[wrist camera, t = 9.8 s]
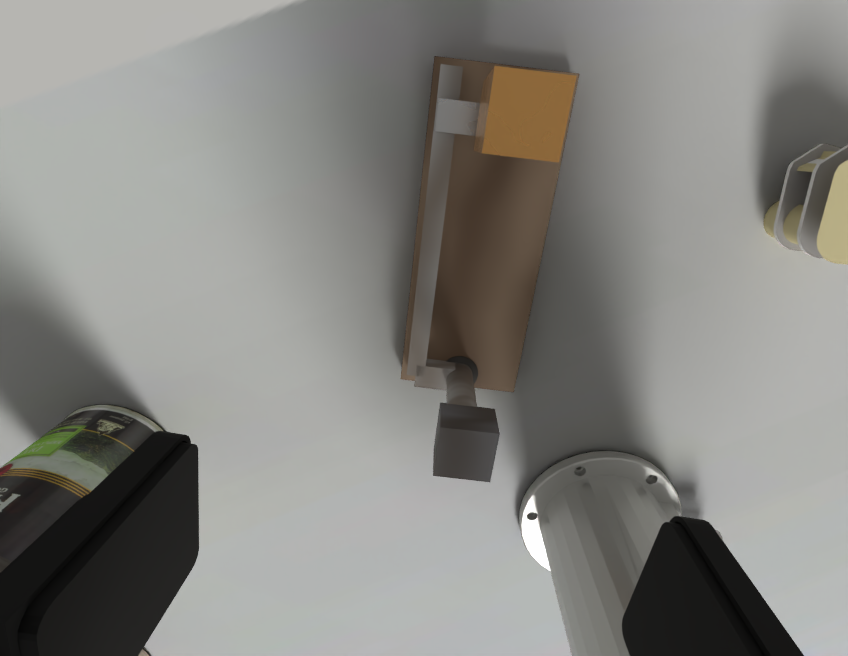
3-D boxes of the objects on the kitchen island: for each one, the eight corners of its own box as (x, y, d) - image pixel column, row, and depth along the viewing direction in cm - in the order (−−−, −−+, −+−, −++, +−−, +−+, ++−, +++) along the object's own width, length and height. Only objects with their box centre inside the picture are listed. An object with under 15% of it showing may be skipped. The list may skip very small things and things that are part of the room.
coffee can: (28, 429, 38) (-189, 582, 25) (133, 385, 36) (-42, 525, 23) (108, 523, 41) (-46, 702, 28) (208, 487, 39) (92, 660, 26)
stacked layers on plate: (924, 148, 29) (1028, 149, 24) (841, 287, 32) (917, 315, 27) (769, 104, 28) (842, 96, 23) (700, 250, 31) (751, 271, 26)
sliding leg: (530, 97, 26) (576, 75, 17) (520, 155, 27) (558, 162, 18) (440, 86, 26) (440, 59, 17) (433, 144, 27) (430, 147, 18)
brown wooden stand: (572, 77, 28) (647, 41, 18) (509, 388, 35) (537, 487, 25) (434, 60, 27) (431, 14, 17) (401, 375, 35) (385, 470, 25)
